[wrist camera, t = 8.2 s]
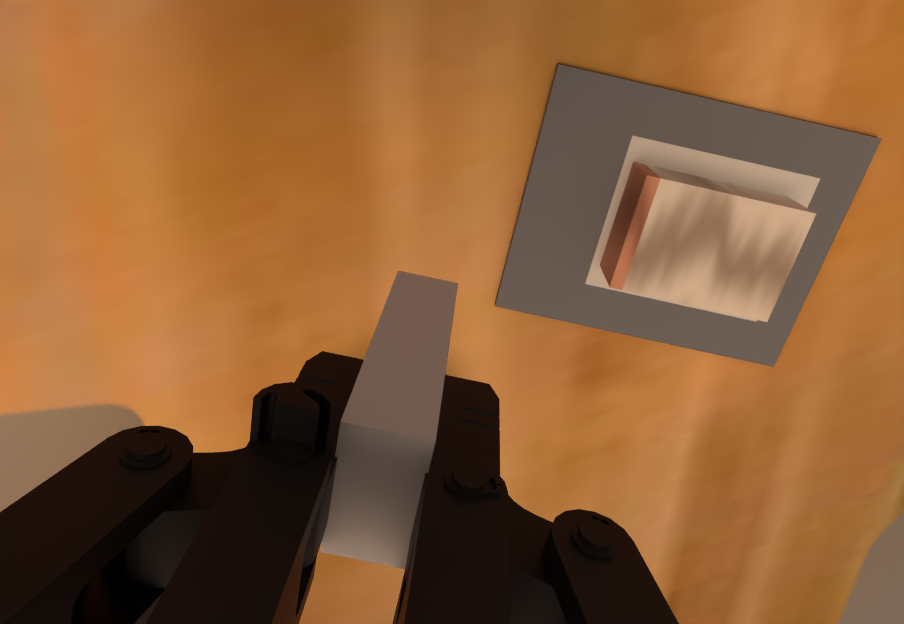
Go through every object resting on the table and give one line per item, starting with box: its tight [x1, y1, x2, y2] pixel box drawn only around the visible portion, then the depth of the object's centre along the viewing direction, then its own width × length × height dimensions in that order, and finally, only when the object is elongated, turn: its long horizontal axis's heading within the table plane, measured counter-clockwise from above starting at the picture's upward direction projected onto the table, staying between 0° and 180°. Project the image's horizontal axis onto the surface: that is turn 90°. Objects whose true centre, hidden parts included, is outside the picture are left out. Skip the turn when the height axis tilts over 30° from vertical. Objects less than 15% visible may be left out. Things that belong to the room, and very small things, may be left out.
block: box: [600, 162, 816, 322], centre depth 41 cm, size 7×4×10 cm
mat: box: [495, 64, 881, 367], centre depth 43 cm, size 16×20×1 cm
